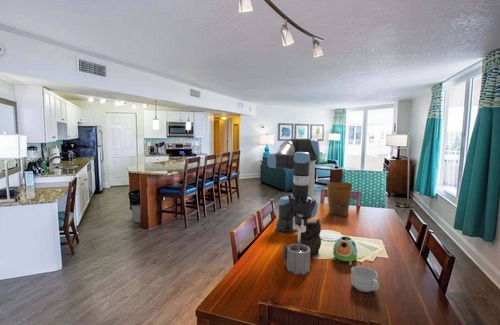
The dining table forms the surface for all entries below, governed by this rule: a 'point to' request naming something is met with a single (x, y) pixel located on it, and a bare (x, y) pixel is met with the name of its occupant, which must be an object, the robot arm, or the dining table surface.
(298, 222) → the plunger
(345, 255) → the turtle holder
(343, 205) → the pancake mix bag
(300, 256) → the press carafe
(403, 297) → the dining table surface
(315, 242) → the owl
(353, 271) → the teacup
